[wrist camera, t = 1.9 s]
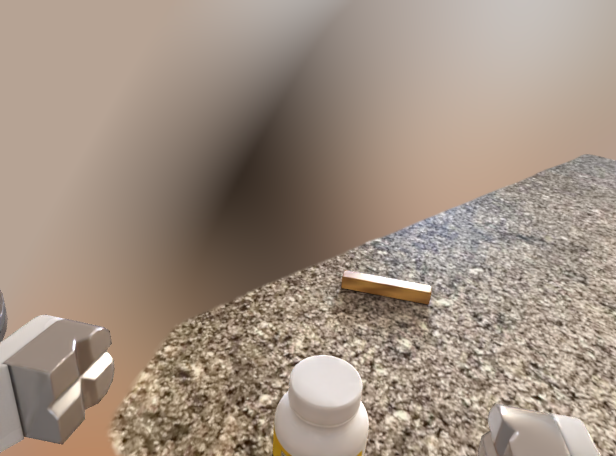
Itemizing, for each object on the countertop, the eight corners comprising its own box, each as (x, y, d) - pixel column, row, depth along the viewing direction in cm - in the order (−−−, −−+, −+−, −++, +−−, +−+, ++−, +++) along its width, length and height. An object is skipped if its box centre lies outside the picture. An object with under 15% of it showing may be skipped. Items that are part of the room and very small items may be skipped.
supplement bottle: (294, 446, 31) (305, 334, 27) (366, 482, 29) (390, 367, 25) (252, 513, 26) (258, 391, 22) (333, 562, 24) (356, 437, 20)
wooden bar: (340, 288, 50) (342, 276, 50) (343, 281, 52) (344, 269, 51) (428, 305, 49) (431, 293, 48) (428, 297, 50) (431, 285, 50)
